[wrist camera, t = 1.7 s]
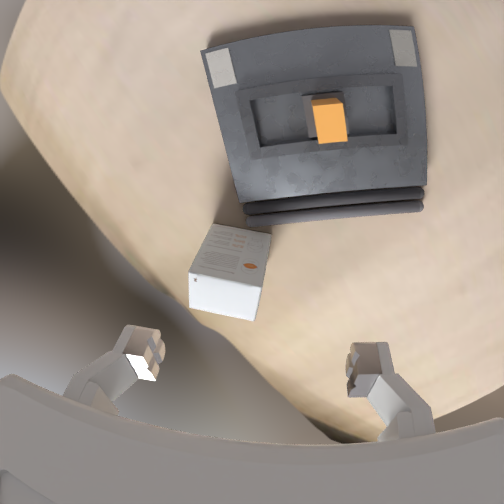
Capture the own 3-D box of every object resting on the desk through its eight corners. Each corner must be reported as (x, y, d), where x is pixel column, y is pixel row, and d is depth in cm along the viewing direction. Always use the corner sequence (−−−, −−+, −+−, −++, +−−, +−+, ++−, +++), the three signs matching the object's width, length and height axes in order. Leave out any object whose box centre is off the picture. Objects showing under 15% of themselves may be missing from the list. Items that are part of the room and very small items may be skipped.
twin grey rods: (422, 184, 31) (426, 189, 30) (421, 208, 33) (424, 213, 32) (242, 201, 37) (240, 206, 36) (248, 224, 38) (246, 229, 37)
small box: (210, 255, 42) (186, 308, 34) (212, 221, 39) (186, 271, 31) (266, 266, 42) (255, 323, 33) (273, 233, 39) (262, 287, 30)
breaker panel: (407, 28, 21) (419, 25, 18) (420, 178, 31) (431, 190, 28) (206, 51, 27) (195, 50, 24) (242, 195, 36) (236, 209, 33)
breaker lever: (341, 90, 25) (351, 96, 20) (347, 130, 27) (357, 146, 22) (301, 95, 26) (301, 101, 21) (308, 134, 28) (310, 150, 23)
